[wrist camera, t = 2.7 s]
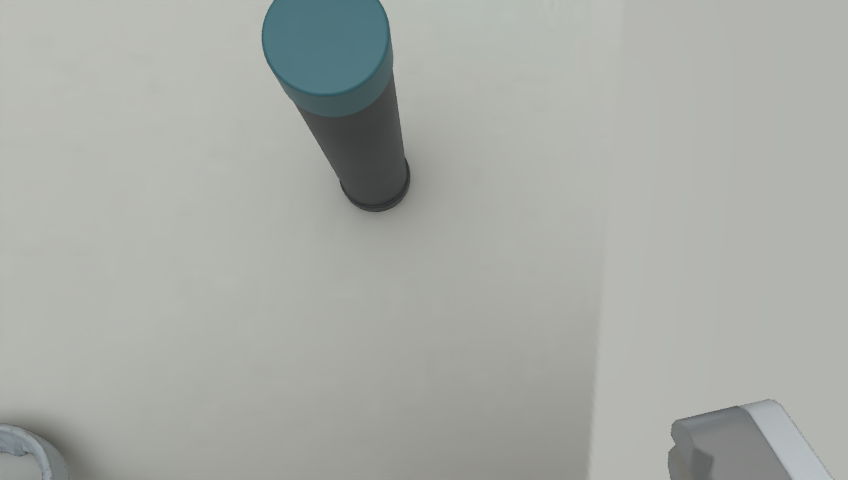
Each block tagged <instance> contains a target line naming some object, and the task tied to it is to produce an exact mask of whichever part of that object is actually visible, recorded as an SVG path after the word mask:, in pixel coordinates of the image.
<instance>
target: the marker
mask: <svg viewBox="0 0 848 480" xmlns="http://www.w3.org/2000/svg"><path fill="white" fill-rule="evenodd" d="M262 47H263V51H264V55H265V58H266V60H267V63H268V64H269V66H270V68H271V70H272V71H273V73H274V75H275V76H276V78H277V79H278V81H279V83H280V84H281V86H282V88H283V89H284V91H285V93H286V94H287V95H288V96H289V98H290V99H291V100H292V101H293V102H294V103H295V105H296V107H297V108H298V110H299V112H300V113H301V115H302V117H303V118H304V120H305V122H306V124H307V125H308V127H309V129H310V130H311V132H312V134H313V135H314V137H315V139H316V140H317V142H318V144H319V145H320V147H321V149H322V151H323V152H324V154H325V156H326V157H327V159H328V161H329V162H330V164H331V166H332V167H333V169H334V171H335V172H336V174H337V176H338V178H339V179H340V184H341V187H342V189H343V191H344V193H345V195H346V196H347V198H348V199H349V200H350V201H351V202H352V203H353V204H354V205H355V206H357V207H359V208H361V209H363V210H366V211H372V212H379V211H384V210H388V209H390V208H392V207H394V206H395V205H397V204H398V203H399V202H400V201H401V200H402V199H403V197H404V196H405V194H406V192H407V190H408V187H409V183H410V172H409V166H408V163H407V160H406V158H405V156H404V148H403V141H402V134H401V126H400V119H399V112H398V105H397V97H396V90H395V83H394V75H393V50H392V43H391V35H390V27H389V21H388V18H387V15H386V12H385V10H384V8H383V6H382V4H381V3H380V1H379V0H274V1H273V3H272V4H271V6H270V8H269V9H268V12H267V14H266V16H265V19H264V23H263V28H262Z"/></svg>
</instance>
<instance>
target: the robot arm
mask: <svg viewBox="0 0 848 480" xmlns="http://www.w3.org/2000/svg"><path fill="white" fill-rule="evenodd" d="M671 436H672V438H673V440H674V442H675V444H676V445H675V446H674V447H673V448H672V449H671V450H670V451H669V455H668V468H669V473H670V478H671V480H834V479H833V477H832V476H831V475H830V473H829V472H828V470H827V469H826V467H825V466H824V465H823V463H822V462H821V460H820V459H819V457H818V456H817V455H816V453H815V452H814V450H813V449H812V448H811V446H810V445H809V443H808V442H807V440H806V439H805V438H804V436H803V435H802V433H801V432H800V430H799V429H798V428H797V426H796V425H795V424H794V422H793V421H792V419H791V418H790V416H789V415H788V413H787V412H786V411H785V409H784V408H783V406H782V405H781V404H779V403H778V402H777V401H775V400H771V399H767V400H763V401H759V402H754V403H750V404H745V405H741V406H734V407H729V408H726V409H721V410H717V411H713V412H708V413H704V414H700V415H696V416H692V417H688V418H684V419H679V420H676V421H675V422H674V423H673V424H672V429H671Z"/></svg>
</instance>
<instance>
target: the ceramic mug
mask: <svg viewBox="0 0 848 480" xmlns="http://www.w3.org/2000/svg"><path fill="white" fill-rule="evenodd" d="M0 452H10V453H11V454H13V455H14V456H22V455H25V454H27V453H33V454H34V456H35V457H36V459H37V461H38V464H39V467H40V468H41V470H42V480H70V476H69V471H68V468H67V466H66V463H65V461H64V459H63V457H62V455H61V454H60V453H59V452H58V450H57V449H56V447H55V446H53V445H52V444H50V443H49V442H48V441H46V440H45V439H44V438H41V437H39V436H37V435H35V434H33V433H31V432H30V431H28V430H25V429H23V428H21V427H19V426H12V425H9V424H0Z"/></svg>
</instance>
